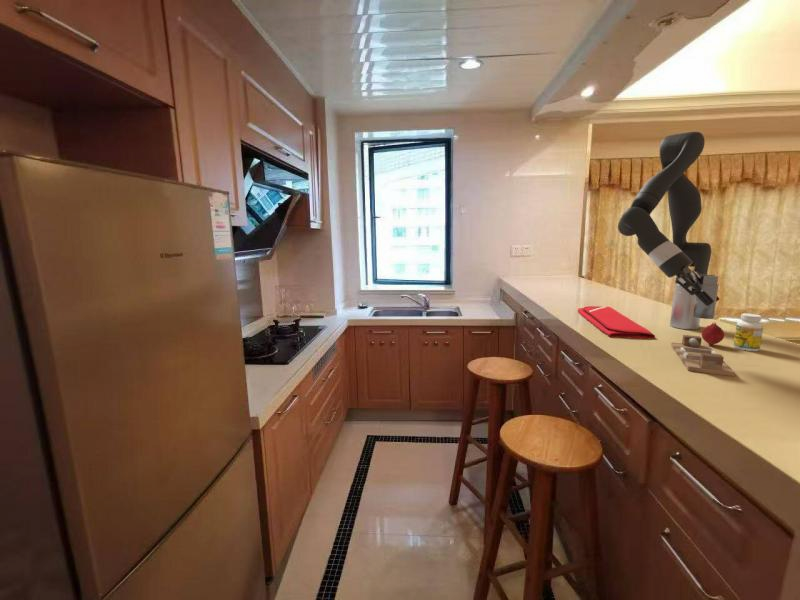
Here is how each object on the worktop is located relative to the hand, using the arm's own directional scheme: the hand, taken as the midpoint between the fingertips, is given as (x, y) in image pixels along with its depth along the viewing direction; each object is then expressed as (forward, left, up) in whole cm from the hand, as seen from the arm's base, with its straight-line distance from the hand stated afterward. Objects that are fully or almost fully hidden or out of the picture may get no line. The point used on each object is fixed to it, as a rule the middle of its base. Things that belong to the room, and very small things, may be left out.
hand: (713, 302), depth 107 cm
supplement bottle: (-19, +15, -18) cm, 30 cm away
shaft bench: (-1, -1, -18) cm, 18 cm away
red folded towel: (-37, -23, -19) cm, 48 cm away
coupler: (-1, -2, -5) cm, 5 cm away
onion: (-19, +6, -18) cm, 27 cm away
